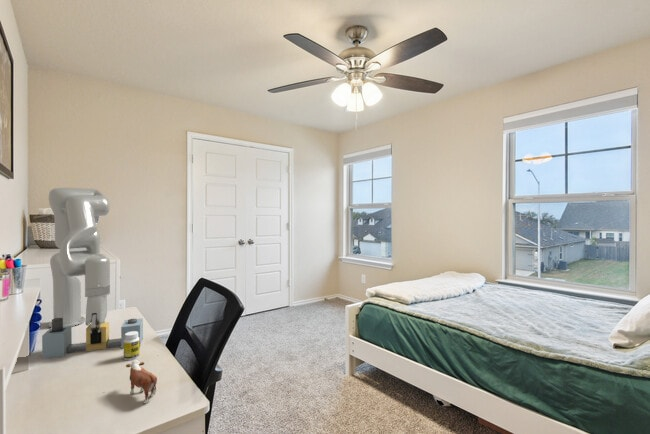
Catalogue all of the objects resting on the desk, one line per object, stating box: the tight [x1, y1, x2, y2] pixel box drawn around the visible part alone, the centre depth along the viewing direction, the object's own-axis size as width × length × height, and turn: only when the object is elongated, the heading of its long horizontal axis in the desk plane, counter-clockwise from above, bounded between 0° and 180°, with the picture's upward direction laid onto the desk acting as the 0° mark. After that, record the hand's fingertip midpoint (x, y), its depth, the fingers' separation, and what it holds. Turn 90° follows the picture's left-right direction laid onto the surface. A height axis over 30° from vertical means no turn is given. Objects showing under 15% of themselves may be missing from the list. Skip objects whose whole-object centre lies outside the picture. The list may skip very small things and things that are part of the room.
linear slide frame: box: [41, 318, 144, 360], centre depth 121 cm, size 8×29×9 cm, turn 112°
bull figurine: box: [125, 359, 158, 404], centre depth 92 cm, size 4×13×8 cm, turn 51°
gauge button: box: [51, 318, 63, 332], centre depth 117 cm, size 3×3×4 cm
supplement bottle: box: [123, 331, 140, 361], centre depth 114 cm, size 5×5×8 cm
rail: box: [66, 337, 121, 354], centre depth 121 cm, size 3×17×2 cm, turn 112°
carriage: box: [85, 321, 110, 352], centre depth 121 cm, size 5×6×8 cm
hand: (97, 339), depth 121 cm, fingers closed on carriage, 5 cm apart
